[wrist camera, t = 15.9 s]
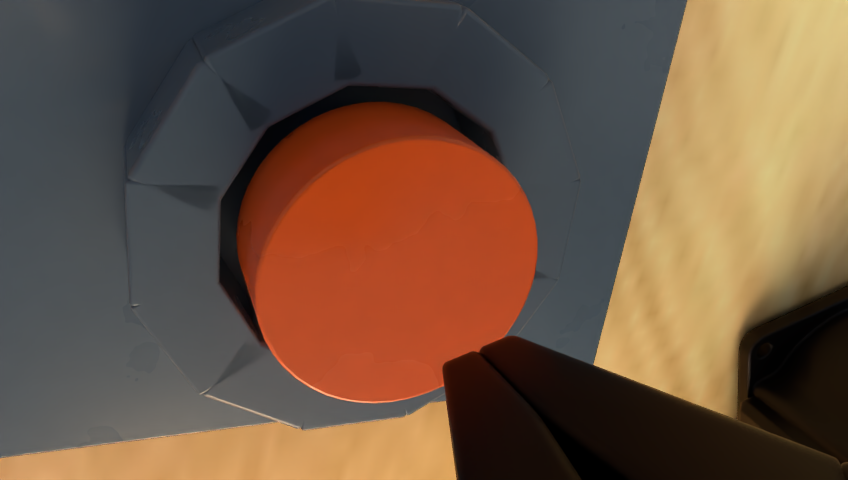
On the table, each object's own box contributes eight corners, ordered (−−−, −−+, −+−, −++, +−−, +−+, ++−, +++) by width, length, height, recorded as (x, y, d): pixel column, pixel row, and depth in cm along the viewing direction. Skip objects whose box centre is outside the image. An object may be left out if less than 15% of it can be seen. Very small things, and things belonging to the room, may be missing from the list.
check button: (505, 105, 11) (565, 138, 10) (466, 330, 13) (513, 388, 11) (239, 94, 10) (261, 132, 8) (232, 351, 11) (249, 421, 10)
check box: (635, -53, 14) (770, -37, 11) (547, 338, 18) (632, 428, 15) (-92, -158, 10) (-184, -177, 7) (-17, 394, 13) (-55, 539, 10)
